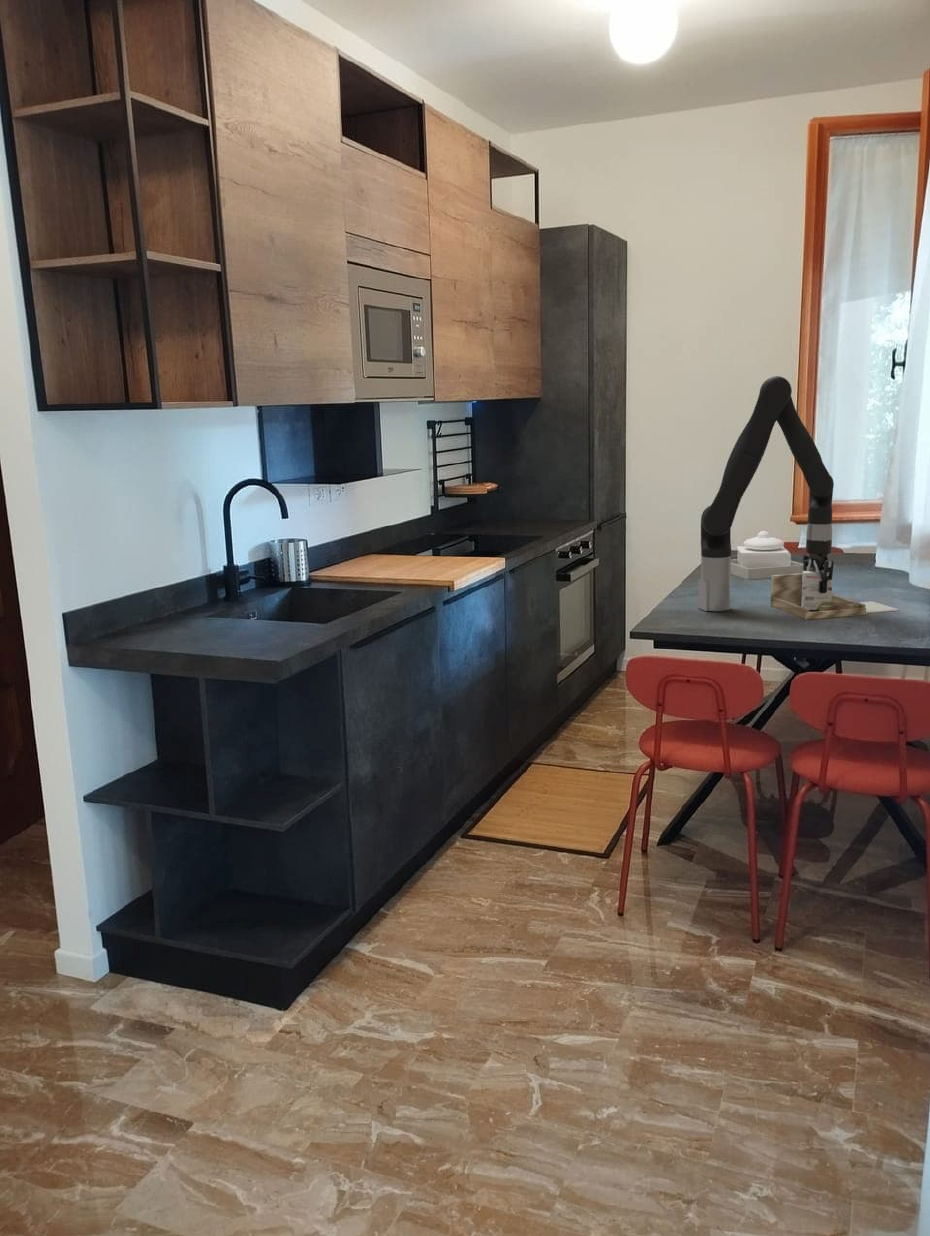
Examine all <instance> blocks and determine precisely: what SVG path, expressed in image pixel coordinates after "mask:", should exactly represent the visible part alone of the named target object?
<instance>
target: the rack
mask: <svg viewBox="0 0 930 1236" xmlns="http://www.w3.org/2000/svg"><path fill="white" fill-rule="evenodd" d="M802 577H803V573H799V574H785V575H772V576H771V578H770V579H771V582H770V583H771V584H770V586H771V587H770V607H772V608H775V609H777V610H780V611H782V612H785V613H788V614H791V615H793V616H796V617H798V618H800V619H803V620H816V619H829V618H840V617H842V618H843V617H854V616H863V615H865V616H866V615H867V614H866V608H865V604H862V603H859V601H855V600H853V599H849V598H846V597H843V596H840V595H837V594H833V593H832V599H831V605H837V604H842V605H845V609H840V610H828V611H820V610H815V611H810V610H809V609H807V608H804V607H801V605H802ZM854 603H855V604H858V605H859V608H852V609H846V604H854Z"/></svg>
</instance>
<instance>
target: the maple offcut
mask: <svg viewBox="0 0 930 1236" xmlns="http://www.w3.org/2000/svg"><path fill="white" fill-rule="evenodd" d="M852 608H859V605H858V604H855V603H854V604H846V609H852Z"/></svg>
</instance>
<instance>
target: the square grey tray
mask: <svg viewBox="0 0 930 1236" xmlns="http://www.w3.org/2000/svg"><path fill="white" fill-rule="evenodd" d="M737 561H738V559H737V558H733V559H732V558H731V575H732V576H736V577H738V578H742V579H745V580H747V581H750V580H765V579H767V580H768V579H771V576H772V575H785V574H799V573H803V563H800V562H799V561H798V562H797V561H794V560H791V566H777V567H763V568H747V567H744V566H741V565H738V564H737Z"/></svg>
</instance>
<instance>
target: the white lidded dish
mask: <svg viewBox="0 0 930 1236" xmlns="http://www.w3.org/2000/svg"><path fill="white" fill-rule="evenodd" d="M735 549H736V550H737V554H736V555H737V558H736V559H738V561H737V564H738V565H741V566H744V567H747V568H763V567H777V566H791V561H792V554H791V553H790V551H789V550H788V549H787V548H785V543H784V541H783V540H782V539H780V538H777V537H773V536H771V535H770V532H768V531H766V530H761V531H759V532H758V533H757V536H755V537H751V538H748V539H746V540H744V541H743V546H741V545H740V546H739V545H737V546H735Z"/></svg>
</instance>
